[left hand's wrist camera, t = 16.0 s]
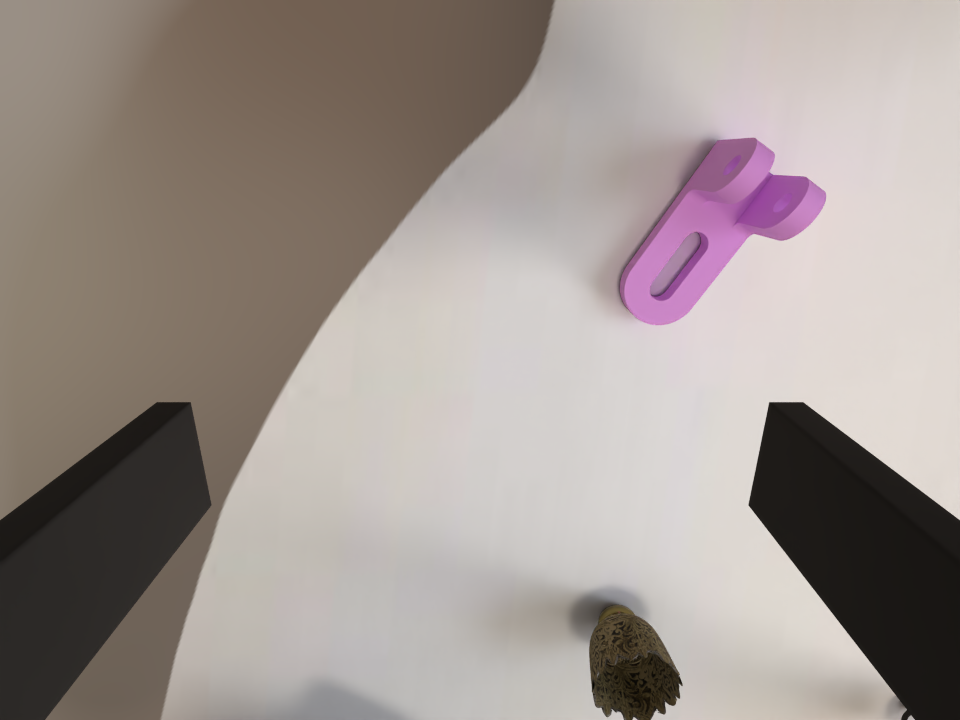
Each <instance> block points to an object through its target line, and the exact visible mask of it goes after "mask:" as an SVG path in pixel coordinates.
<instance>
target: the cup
mask: <svg viewBox="0 0 960 720" xmlns="http://www.w3.org/2000/svg"><path fill="white" fill-rule="evenodd" d="M589 657H590V671H591V682H592V692H593V698H594V702H595V706H596V707H597V708H602V710H603V713H604V714H605V716H606V717H609V716H610V715H611V712H612V710H611V709H613V710H614V711H615V712H616V713H617V711H619V712H621V713H622V715H623V717H624V720H632V719H633V717H635V718H636V719H638V720H651V718H652V717H653V715H654V712H655V711H656V710H657V709H658V711H659V712H658V713H661V714H665V713H666V709H665V702H666V703H668V704H669V705H671V706H674V705H675V704H676V700H677V699H676V697H677V698H679V699H680V692H679V684H680V685H681V686H683V685H682V682H681V679H680V677H679V675H680V674H679V672H678V671H677V669H676V667H675V665H674V663H673V661H672V659H671V657H670V655H669V654H668V652H667V650H666V648H665V646H664V644H663V642H662V641H661V639H660V637H659V636H658V634H657V633H656V631H655V630H654V629H653V628H652V626H651V625H650V624H648V623H647V622H646V621H645V620H643V619H642V618H640V617H638V616H635V614H634V613H633V612H632V611H631V610H630V609H629V608H627V607H625V606H623V605H612V606H609V607H607V608H606V609H604V610H603V611H602V612H601V614H600V616H599V620H598V625H597V626H596V628H595V629H594V631H593V633H592V636H591V640H590V647H589ZM664 700H665V701H664Z"/></svg>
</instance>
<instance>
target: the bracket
mask: <svg viewBox="0 0 960 720" xmlns="http://www.w3.org/2000/svg"><path fill="white" fill-rule="evenodd" d="M774 158H775V154H774V152H772V151H771V150H770V149H769V148H767V147H766V146H765V145H763V144H762V143H761V142H759V141H758V140H757V139H755V138H743V139H730V140H718V141H717V142H716V144H715V145H714V146H713V148H712V149H711V151H710V152H709V153H708V155H707V156H706V157H705V159H704V160H703V162H702V163H701V164H700V166H699V167H698V168H697V170H696V171H695V173H694V174H693V175H692V177H691V178H690V180H689V181H688V182H687V184H686V185H685V186H684V188H683V189H682V191H681V192H680V193H679V195H678V196H677V197H676V199H675V200H674V202H673V203H672V204H671V206H670V207H669V208H668V210H667V211H666V213H665V214H664V215H663V217H662V218H661V220H660V221H659V222H658V224H657V225H656V226H655V228H654V229H653V231H652V232H651V233H650V235H649V236H648V237H647V239H646V240H645V242H644V243H643V244H642V246H641V247H640V248H639V250H638V251H637V253H636V254H635V255H634V257H633V258H632V259H631V261H630V262H629V264H628V265H627V267H626V268H625V270H624V272H623V274H622V277H621V282H620V294H621V298H622V300H623V303H624V304H625V306H626V307H627V309H628V310H629V311H630V312H631V313H632V314H633V315H634V316H635V317H636V318H638V319H639V320H641V321H643V322H645V323H648V324H652V325H664V324H669V323H672V322H675V321H677V320H679V319H680V318H682V317H683V316H685V315H686V314H687V313H688V312H689V311H690V310H691V309H692V308H693V306H694V305H695V304H696V302H697V301H698V300H699V299H700V297H701V296H702V295H703V294H704V292H705V291H706V290H707V289H708V287H709V286H710V285H711V283H712V282H713V281H714V280H715V278H716V277H717V276H718V275H719V273H720V272H721V271H722V269H723V268H724V267H725V266H726V264H727V263H728V262H729V261H730V259H731V258H732V257H733V256H734V254H735V253H736V252H737V250H738V249H739V248H740V247H741V245H742V244H743V243H744V242H745V240H746V239H747V238H748V237H749V236H750V235H752V234H757V235H761V236H765V237H768V238H772V239H776V240H787V239H790V238H792V237H794V236H796V235H797V234H799V233H800V232H802V231H803V230H804V229H805V228H807V227H808V226H809V225H810V224H811V223H812V222H813V221H814V219H815V218H816V217H817V216H818V214H819V213H820V211H821V210H822V208H823V206H824V204H825V200H826V193H825V191H823V190H822V189H821V188H820V187H818V186H817V185H816V184H814V183H813V182H812V181H810V180H809V179H808V178H806V177H801V176H783V175H772V174H771V173H770V172H769V170H770V169H771V167H772V165H773V162H774ZM694 232H698V233H699V235H700V237H701V245H700V247H699V249H698V250H697V251H696V253H695V254H694V255H693V257H692V258H691V259H690V261H689V262H688V263H687V265H686V266H685V267H684V268H683V270H682V271H681V272H680V274H679V275H678V276H677V278H676V279H675V280H674V282H673V283H672V284H671V286H670V287H669V288H668V289H667V291H666V292H665V293H664V294H662V295H660V296H651V294H650V286H651V284H652V282H653V281H654V279H655V278H656V277H657V275H658V274H659V273H660V271H661V270H662V269H663V267H664V266H665V265H666V263H667V262H668V261H669V259H670V258H671V257H672V255H673V254H674V253H675V251H676V250H677V249H678V247H679V246H680V245H681V243H682V242H683V241H684V239H685V238H686V237H687V236H688V235H689V234H691V233H694Z"/></svg>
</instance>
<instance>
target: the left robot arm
mask: <svg viewBox="0 0 960 720" xmlns="http://www.w3.org/2000/svg"><path fill="white" fill-rule="evenodd" d="M210 506H211V501H210V496H209V491H208V486H207V481H206V476H205V471H204V466H203V461H202V456H201V451H200V446H199V441H198V437H197V431H196V426H195V422H194V417H193V412H192V407H191V403H190V402H157V403H155V404H154V405H153V406H151V407H150V408H149V409H147V410H146V411H145V412H143V413H142V414H141V415H139V416H138V417H137V418H135V419H134V420H133V421H131V422H130V423H129V424H127V425H126V426H125V427H124V428H122V429H121V430H120V431H118V432H117V433H116V434H114V435H113V436H112V437H110V438H109V439H108V440H106V441H105V442H104V443H102V444H101V445H100V446H98V447H97V448H96V449H94V450H93V451H92V452H90V453H89V454H88V455H86V456H85V457H84V458H82V459H81V460H80V461H78V462H77V463H76V464H74V465H73V466H72V467H70V468H69V469H68V470H66V471H65V472H64V473H62V474H61V475H60V476H58V477H57V478H56V479H54V480H53V481H52V482H50V483H49V484H48V485H46V486H45V487H44V488H43V489H41V490H40V491H39V492H37V493H36V494H35V495H33V496H32V497H31V498H29V499H28V500H27V501H25V502H24V503H23V504H21V505H20V506H19V507H17V508H16V509H15V510H13V511H12V512H11V513H9V514H8V515H7V516H5V517H4V518H3V519H1V520H0V720H45V719H46V718H47V716H48V715H49V714H50V713H51V711H52V710H53V709H54V707H55V706H56V705H57V704H58V702H59V701H60V700H61V698H62V697H63V696H64V695H65V693H66V692H67V691H68V689H69V688H70V687H71V686H72V684H73V683H74V682H75V680H76V679H77V678H78V677H79V675H80V674H81V673H82V671H83V670H84V669H85V667H86V666H87V665H88V664H89V662H90V661H91V660H92V658H93V657H94V656H95V655H96V653H97V652H98V651H99V649H100V648H101V647H102V646H103V644H104V643H105V642H106V640H107V639H108V638H109V637H110V635H111V634H112V633H113V631H114V630H115V629H116V627H117V626H118V625H119V624H120V622H121V621H122V620H123V619H124V617H125V616H126V615H127V613H128V612H129V611H130V609H131V608H132V607H133V606H134V604H135V603H136V602H137V600H138V599H139V598H140V597H141V595H142V594H143V593H144V591H145V590H146V589H147V588H148V586H149V585H150V584H151V582H152V581H153V580H154V578H155V577H156V576H157V575H158V573H159V572H160V571H161V570H162V568H163V567H164V566H165V564H166V563H167V562H168V560H169V559H170V558H171V557H172V555H173V554H174V553H175V551H176V550H177V549H178V548H179V546H180V545H181V544H182V542H183V541H184V540H185V539H186V537H187V536H188V535H189V533H190V532H191V531H192V530H193V528H194V527H195V526H196V524H197V523H198V522H199V521H200V519H201V518H202V517H203V515H204V514H205V513H206V511H207V510H208V509H209V508H210ZM749 506H750V508H751V509H752V510H753V512H754V513H755V514H756V515H757V517H758V518H759V519H760V521H761V522H762V523H763V524H764V526H765V527H766V528H767V530H768V531H769V532H770V533H771V535H772V536H773V537H774V539H775V540H776V541H777V542H778V544H779V545H780V546H781V548H782V549H783V550H784V551H785V553H786V554H787V555H788V557H789V558H790V559H791V561H792V562H793V563H794V564H795V566H796V567H797V568H798V570H799V571H800V572H801V573H802V575H803V576H804V577H805V579H806V580H807V581H808V582H809V584H810V585H811V586H812V588H813V589H814V590H815V591H816V593H817V594H818V595H819V597H820V598H821V599H822V600H823V602H824V603H825V604H826V606H827V607H828V608H829V609H830V611H831V612H832V613H833V615H834V616H835V617H836V619H837V620H838V621H839V622H840V624H841V625H842V626H843V628H844V629H845V630H846V631H847V633H848V634H849V635H850V637H851V638H852V639H853V640H854V642H855V643H856V644H857V646H858V647H859V648H860V649H861V651H862V652H863V653H864V655H865V656H866V657H867V658H868V660H869V661H870V662H871V664H872V665H873V666H874V667H875V669H876V670H877V671H878V673H879V674H880V675H881V677H882V678H883V679H884V680H885V682H886V683H887V684H888V686H889V687H890V688H891V689H892V691H893V692H894V693H895V695H896V696H897V697H898V698H899V700H900V701H901V702H902V704H903V705H904V706H905V707H906V709H907V710H908V711H909V713H910V714H911V715H912V716H913V718H914V719H915V720H960V520H959V519H957V518H956V517H955V516H953V515H952V514H951V513H949V512H948V511H947V510H945V509H944V508H943V507H941V506H940V505H939V504H937V503H936V502H935V501H933V500H932V499H931V498H929V497H928V496H927V495H925V494H924V493H923V492H921V491H920V490H919V489H917V488H916V487H915V486H914V485H912V484H911V483H910V482H908V481H907V480H906V479H904V478H903V477H902V476H900V475H899V474H898V473H896V472H895V471H894V470H892V469H891V468H890V467H888V466H887V465H886V464H884V463H883V462H882V461H880V460H879V459H878V458H876V457H875V456H874V455H872V454H871V453H870V452H868V451H867V450H866V449H864V448H863V447H862V446H860V445H859V444H858V443H856V442H855V441H854V440H852V439H851V438H850V437H848V436H847V435H846V434H844V433H843V432H842V431H840V430H839V429H838V428H837V427H835V426H834V425H833V424H831V423H830V422H829V421H827V420H826V419H825V418H823V417H822V416H821V415H819V414H818V413H817V412H815V411H814V410H813V409H811V408H810V407H809V406H807V405H806V404H805V403H803V402H769V407H768V412H767V417H766V422H765V426H764V431H763V436H762V441H761V446H760V451H759V456H758V461H757V466H756V471H755V476H754V481H753V486H752V491H751V496H750V500H749Z"/></svg>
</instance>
